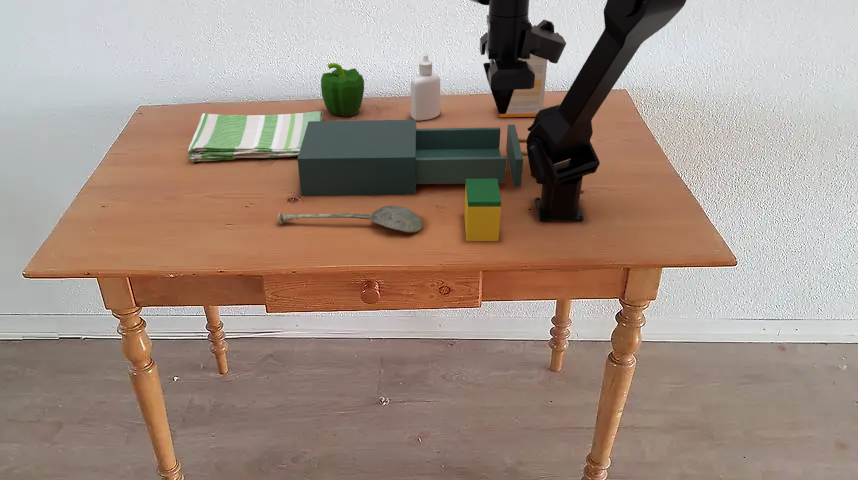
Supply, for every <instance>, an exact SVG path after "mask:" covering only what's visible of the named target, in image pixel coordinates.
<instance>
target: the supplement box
mask: <svg viewBox="0 0 858 480" xmlns="http://www.w3.org/2000/svg"><path fill="white" fill-rule="evenodd" d="M519 60H523V61H526V62H527V63H528V64H529V65H530V66H531V67H532V69H533V71H534V73H535V83H534V88H532V89H516V90H514V92H513V95H512V98H511V100H510V103H509V106H508V109H507V112H506V114H499V113H498V115H499V118H533V117H534V118H535V117H536V115H537V113H538V112H539V111H540V110H542V109H544V104H545V93H546V92H545V91H546V80H547V70H548V69H547V67H548V60H546V59H543V58H540V57H537V56H534V55H532V54H530V59H521V58H519Z"/></svg>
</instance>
